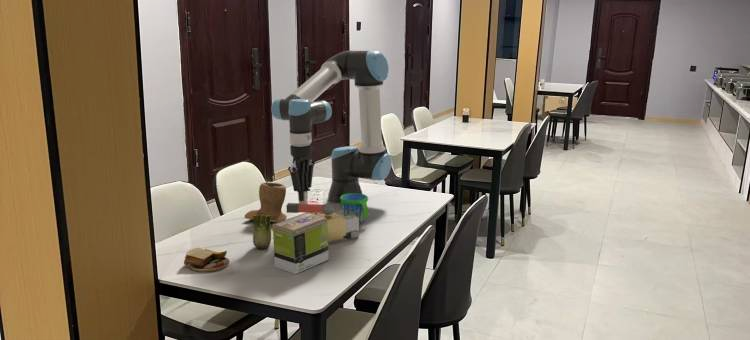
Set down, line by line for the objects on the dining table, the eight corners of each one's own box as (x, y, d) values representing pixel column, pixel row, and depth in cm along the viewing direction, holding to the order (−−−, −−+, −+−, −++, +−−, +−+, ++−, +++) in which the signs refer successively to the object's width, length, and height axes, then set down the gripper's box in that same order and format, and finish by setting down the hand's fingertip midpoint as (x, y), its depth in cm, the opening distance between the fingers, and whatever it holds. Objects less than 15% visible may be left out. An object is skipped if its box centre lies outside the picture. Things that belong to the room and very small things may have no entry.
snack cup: (376, 225, 230) (376, 199, 228) (352, 229, 225) (352, 203, 223) (356, 214, 243) (356, 190, 241) (333, 218, 238) (332, 193, 236)
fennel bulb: (273, 247, 207) (271, 214, 204) (263, 251, 203) (262, 217, 200) (260, 244, 210) (258, 211, 207) (250, 248, 206) (249, 215, 203)
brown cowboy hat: (292, 217, 239) (291, 181, 235) (278, 226, 228) (276, 188, 225) (259, 213, 244) (258, 177, 241) (243, 222, 233) (241, 184, 230)
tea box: (307, 253, 201) (306, 211, 198) (329, 260, 195) (328, 217, 192) (273, 267, 190) (271, 222, 186) (295, 275, 184) (294, 229, 180)
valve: (296, 242, 211) (295, 215, 209) (351, 232, 222) (351, 206, 219) (304, 249, 205) (303, 220, 203) (360, 238, 216) (360, 210, 214)
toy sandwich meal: (213, 276, 184) (212, 261, 182) (177, 269, 188) (176, 255, 187) (237, 261, 195) (236, 248, 194) (202, 255, 200) (202, 242, 199)
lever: (335, 210, 213) (335, 203, 212) (333, 214, 209) (333, 207, 208) (289, 209, 214) (288, 202, 214) (286, 213, 210) (286, 206, 209)
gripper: (298, 148, 201) (301, 215, 207) (320, 141, 212) (322, 205, 218) (280, 146, 205) (283, 212, 210) (303, 139, 215) (305, 202, 221)
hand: (303, 208), depth 214 cm, fingers closed
